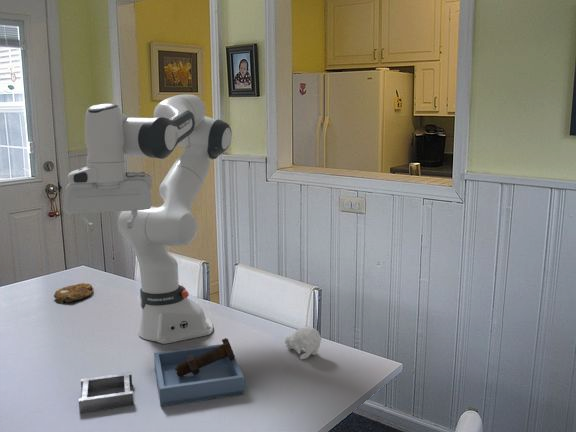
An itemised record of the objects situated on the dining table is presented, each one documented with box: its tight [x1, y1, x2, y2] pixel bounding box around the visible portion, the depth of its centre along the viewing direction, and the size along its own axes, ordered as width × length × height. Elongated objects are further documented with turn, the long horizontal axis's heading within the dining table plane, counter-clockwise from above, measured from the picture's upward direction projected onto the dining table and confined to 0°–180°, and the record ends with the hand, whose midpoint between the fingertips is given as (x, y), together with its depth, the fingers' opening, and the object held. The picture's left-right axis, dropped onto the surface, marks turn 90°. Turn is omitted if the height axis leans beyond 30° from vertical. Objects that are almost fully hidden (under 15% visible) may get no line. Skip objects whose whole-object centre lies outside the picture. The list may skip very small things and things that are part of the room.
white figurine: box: [284, 326, 322, 360], centre depth 161 cm, size 6×8×12 cm
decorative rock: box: [53, 282, 95, 304], centre depth 207 cm, size 11×4×15 cm
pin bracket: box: [78, 372, 135, 414], centre depth 138 cm, size 12×11×3 cm
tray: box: [153, 343, 245, 408], centre depth 146 cm, size 20×20×4 cm
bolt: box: [175, 338, 236, 377], centre depth 147 cm, size 6×5×15 cm
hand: (110, 229), depth 140 cm, fingers open, 8 cm apart
